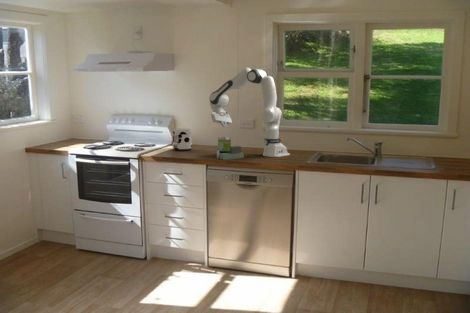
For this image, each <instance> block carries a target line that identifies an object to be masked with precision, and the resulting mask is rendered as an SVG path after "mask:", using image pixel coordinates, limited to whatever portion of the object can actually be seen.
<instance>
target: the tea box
mask: <svg viewBox="0 0 470 313" xmlns="http://www.w3.org/2000/svg"><path fill="white" fill-rule="evenodd" d="M217 140H218V141H217V148H218V150H217V151H219V158H220V154H221V153H230V147H232V145H231V144H232V139H231V137H230V136H219V137H218V138H217Z"/></svg>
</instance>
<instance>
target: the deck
mask: <svg viewBox="0 0 470 313" xmlns="http://www.w3.org/2000/svg"><path fill="white" fill-rule="evenodd" d="M244 158H245V154H244V152H242V146H239V145H235V146H231V147H230V153H221V154H220V157H219V151H218V150H216V159H217V160H218V159H220V160H222V159H223V161H225V160H226V161H227V160H236V159H244Z"/></svg>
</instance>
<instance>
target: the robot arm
mask: <svg viewBox="0 0 470 313" xmlns="http://www.w3.org/2000/svg"><path fill="white" fill-rule="evenodd" d="M248 83H253V84H257V85H258V84H259V85H260V87H261V92H262V93H261V94H262V113H261V118H262V120H263V121H265V122H266V125H265V128H264V140H263V141H264V147H263V148H264V149H263V154H262V156H263V157H270V158H271V157H272V158H273V157H274V158H280V157H286V156H287V157H288V156H290V155H291V153H289V152H288V148H287V146H285V145H284V144H283V143H281V142H283V138H280V136H279V135H280V133H279V131H280V129H279V128H280V124H281V118H282V115H283V112H282V110H281V108H279V107H277V101H278V96H277V88H276V84H275V83H276V82H275V80H274V77H273V76H271V75H269V74H268V71H267V70H265V69H262V68H253V69H251V68H250V67H248V66H247V67H244V68H242V69H241V70H240V71H239V72H238V73H237V74H236V75H235V76H234V77H233V78H231V79H229V80H227V81H225V83H223V84H222V85H221V86H220V87H219V88H217V90H215V91H213V92H212V93H210V96H209V105H210V108H211V110H212V112H211V113H210V116H211V120H212V122H213V123H218V124H220V125H221V126H222V128H227V125H228V126H230V125H231V124H232V123H233V121H232V118H231V116H230V113H229V112H227V111H226V110H224V108H226V107H227V106H228V105H229V103H230V97H229V96H228V95H227V94H226V92H228V91H231V90H241V89H243V88H244V87H245V86H246V85H247V84H248Z"/></svg>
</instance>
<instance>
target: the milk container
mask: <svg viewBox="0 0 470 313" xmlns="http://www.w3.org/2000/svg"><path fill="white" fill-rule="evenodd" d="M192 148H193V141H192V129H191V128H183V127H181V128H173V130H172V149H173V150H175V151H189V150H191V149H192Z"/></svg>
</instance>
